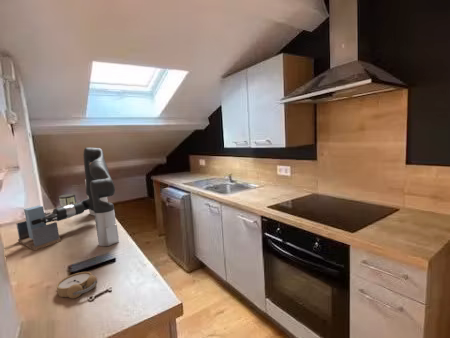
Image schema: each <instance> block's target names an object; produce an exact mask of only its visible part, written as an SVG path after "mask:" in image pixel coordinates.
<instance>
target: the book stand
mask: <svg viewBox="0 0 450 338" xmlns="http://www.w3.org/2000/svg"><path fill="white" fill-rule="evenodd" d="M61 240H62V239H61V238H60V237H59V239H57V240H54V241H51V242H48V243H46V244H43V245H40V246H37V247H34V242H33V239H31V238H29V237H27V238H24V239H21V240H20V239H19V238H18V239H17V241H18V243H19V244H21V245H24V246H25V247H28V248H29V249H31V250H34V251H38V250H39V249H42V248H45V247H47V246H51V245H53V244H56V243H59V242H61Z"/></svg>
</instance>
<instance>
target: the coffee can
mask: <svg viewBox="0 0 450 338" xmlns="http://www.w3.org/2000/svg"><path fill="white" fill-rule="evenodd" d="M76 195H77V193H66V194H62V195H58V198H59V205H60V207H62V206H66V205H71V204H75V203H78V202H77V197H76Z"/></svg>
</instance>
